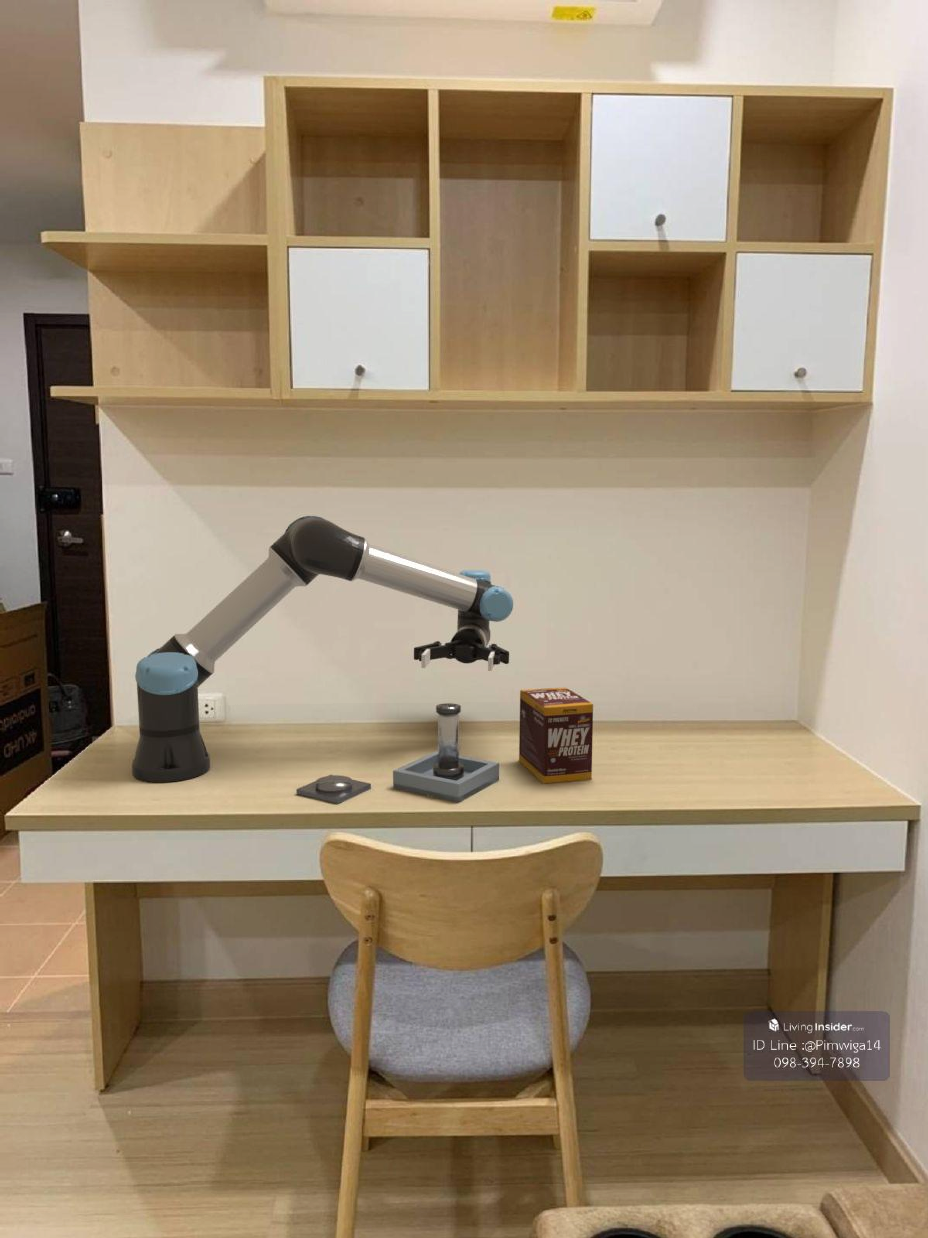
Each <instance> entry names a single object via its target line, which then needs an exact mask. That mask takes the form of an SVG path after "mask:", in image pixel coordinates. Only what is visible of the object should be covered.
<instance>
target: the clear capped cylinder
mask: <svg viewBox="0 0 928 1238" xmlns="http://www.w3.org/2000/svg"><path fill="white" fill-rule="evenodd" d="M435 712H436V713H437V730H438V731H437V739H438V741H437V745H438V746H437V751H438V763H436V764H434V765H433V776H436V777H441V778H445V779H450V780H455V781H457V780H459V779H461V778H463V777H464V765H463V764H461V763H459V755H460V754H459V753H460V752H459V751H460V750H459V749H460V747H459V745H460V743H459V742H460V741H459V739H460V734H459V733H460V723H459V722H460V719H459V718H460V715H459V714H460V713H461V712H462V706H461V705H460V704H456V703H450V702H449V703H439V704H437V705H435Z"/></svg>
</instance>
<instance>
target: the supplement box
mask: <svg viewBox="0 0 928 1238" xmlns="http://www.w3.org/2000/svg"><path fill="white" fill-rule="evenodd" d="M519 691H520V692H519V735H518V736H519V743H518V746H519V749H518V750H519V751H518V761H519V762H520V763H521V764H522V765H523V766H524V767H525V768H526V769H527V768H528V769H527V770H528V771H529V772H530V773H532V774H533V775H534V776H535V777H536V778H537V779H538V780H539V781H540V782H541V781H542V782H541V783H543V784H544V785H545V784H553V783H554V784H556V783H564V782H573V781H574V782H575V781H586V780H592V775H593V774H592V772H593V735H594V734H593V733H594V732H593V730H594V729H593V727H594V724H593V723H594V703H593V702H590V701H588V700H587V699H586V698H584V697H582V696H581V695H579V694H577V693H576V692H575V691H572V690H570V688H568V687H549V688H534V689H520V690H519Z"/></svg>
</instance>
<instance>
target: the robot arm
mask: <svg viewBox="0 0 928 1238" xmlns="http://www.w3.org/2000/svg"><path fill="white" fill-rule="evenodd" d="M319 575H323V576H328V577H334V578H338V579H342V580H346V581H349V582H353V581H356V580H357V579H359V580H362V581H365V582H368V583H372V584H375V585H378V586H380V587H384V588H388V589H392V590H393V591H398V592H401V593H403V594H407V595H411V596H414V597H417V598H420V599H423V600H427V601H430V602H433V603H437V604H439V605H444V606H446V607H448V608H452V609H455V610H457V626H456V632H455V633H454V635H453V636H452V638H451V640H450V641H449V642H445V643H444V645H442V642H441V641H439V640H437V641H434V642H433V643H432V642H431V643H429V644H425V645H424V644H423V645H420V646H416V647H413V660H415V661H419V662H421V668H422V669H425V668H426V667H427V666H428V665H429V664H430V662H431V661H432V660H437V659H438V660H439V659H447V660H452V659H455V660H456V661H457V662H460V663H462V664H472V663H475V662H477V661H482V660H483V661H486V662H487V671H488V672H491V671H493V668H494V666H495V665H496V666H497V665H500V664H502V663H503V664H505V665H508V664H509V663H510V651H508V650H506V649H504V648H503V647H500V646H498V645H497V644H496V643H491V644H490V643H489V642H490V641H491V629H490V622H495V623H497V622H498V623H499V622H502V621H505V620H506V619H507V618H509V616H510V615H511V614H512V611H513V609H514V599H513V597H512V594H511V593H510V592H509V591H508V590H506V589H505V588H503V587H501V586H498V585H495V584H492V581H491V574H490V572H489V571H487V570H481V569H467V570H462V571H460V572H459V573H458V572H455V571H451V570H448V569H446V568H442V567H439V566H436V565H433V564H430V563H427V562H424V561H421V560H418V559H415V558H412V557H409V556H406V555H402V554H399V553H397V552H394V551H391V550H388V549H384V548H381V547H379V546H375V545H372V544H370V543H369V541H368V540H367V538H366V537H363V536H360V535H357V534H355V533H352V532H350V531H348V530H346V529H343V528H342V527H340V526H339V525H337V524H335V523H334V522H332V521H330V520H328V519H325V518H324V517H321V516H317V515H305V516H302V517H299V518H297V519H295V520H294V521H292V522H291V523H289V525H288V526H287V527H286V529H285V532H284V533H283V534H282V535H281V536H280V537H279V538H277V540H275V541H274V542H273V544H271V546H269V547H268V557H267V559H265V560H264V561H263V562H262V563H261V564H260V565H259V566H258V567H256V569H254V571H252V573H250V574H249V575H248V576H247V577H246V578H245V579H244V580H243V581H242V582H240V583H239V585H237V586H236V587H235V588H234V589H233V590H232V591H231V592H230V593H228V595H226V597H224V598H223V599H222V600H221V601H220V602H219V603H218V604H217V605H216V606H215V607H213V609H211V610H210V611H209V612H208V613H207V614H205V616H204V617H203V618H202V619H201V620H199V622H197V623H196V624H195V625H194V626H193V627H192V628H191V629H190V630H189V631H188V632H186V633H175V634H174V635H173V636H172V637H170V639H168V640H167V641H166V642H165V643H164V644H163V645H162V646H161V647H158V648H156V649H155V650H153V651H151V652H150V653H149V654H148V655H147V656H145V657H143V658H141V659H140V660H139V661H138V662H137V665H136V667H135V668H136V669H135V670H136V671H135V674H134V677H135V681H136V690H137V691H136V693H137V694H136V695H137V710H138V711H137V712H138V727H139V729H138V730H139V737H138V738H139V739H138V742H137V746H136V750H135V754H134V758H133V760H132V763H131V767H132V768H131V769H132V771H131V773H132V776H133V777H134V778H135V779H138V780H141V781H143V782H151V783H153V782H154V783H167V782H168V783H169V782H180V781H184V780H190V779H193V778H196V777H199V776H201V775H203V774H206V773H207V772H208V771H210V769H211V758H210V754H209V753H208V750H207V747H206V745H205V741H204V738H203V737H202V734H201V730H200V728H201V727H200V710H199V709H200V708H199V689H198V688H199V687H200V686H201V685H202V684H203V683H204V682H206V680H207V679H209V678H210V677H211V676H212V675H213V674H214V673H215V664H216V661H218V660H219V659H220V658H221V657H222V656H224V654H225V653H226V652H228V650H230V648H231V647H233V646H234V645H235V644H236V643H237V642H238V641H239V640H240V639H241V638H242V637H243V636H244V635H246V633H248V632H249V631H250V630H251V629H252V628H253V627H254V626H255V625H256V624H258V622H259V621H261V620H262V619H263V618H264V616H266V615H267V614H268V613H269V612H270V611H271V610H272V609H273V608H275V607H276V606H277V605H278V604H279V603H280V602H281V601H282V600H283V599H284V598H285V597H286V596H287V595H288V594H290V593H291V591H293V589H294V588H296V587H307V586H308V585H309V584H310V583H311V582H312V581H314V580H315V579H316V578H317V577H318V576H319ZM488 644H489V645H488ZM421 668H420V669H421Z"/></svg>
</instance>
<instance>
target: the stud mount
mask: <svg viewBox="0 0 928 1238" xmlns="http://www.w3.org/2000/svg"><path fill="white" fill-rule="evenodd" d="M371 789H372V783H371V782H370V783H369V782H366V781H361V780H355V779H352V778H351V777H349V776H345V775H340V774H338V775H337V774H336V775H334V774H328V775H327V776H322V777H319V778H317V779H316V780H315V781H313V782H310V783H308V784H306V785H303V786H300V787H298V788H296V795H299V796H302V795H303V797H306V798H311V799H314V800H318V799H319V801H323V802H327V803H331V802H332V804H335V805H339V804H341V803H343V802H345V801H347V800H351V799H352V798H353V797H356V796H358V795H360V794H363V793H365V792H367V791H369V790H371Z"/></svg>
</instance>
